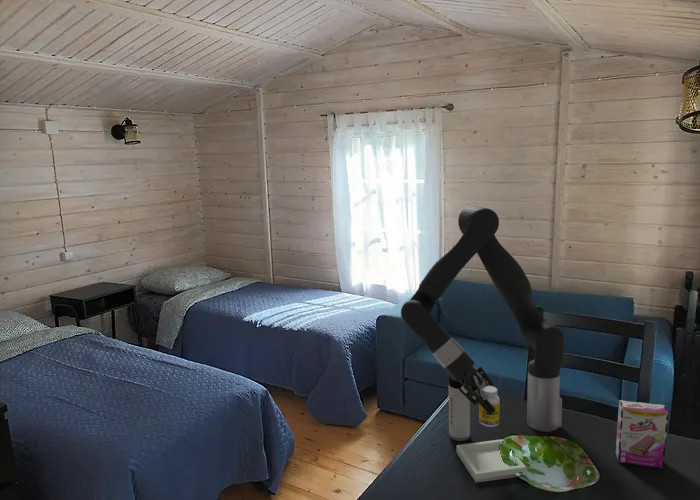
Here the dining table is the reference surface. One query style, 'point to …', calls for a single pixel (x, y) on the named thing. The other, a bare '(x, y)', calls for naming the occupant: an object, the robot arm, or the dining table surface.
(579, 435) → the dining table surface
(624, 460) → the candy bar box
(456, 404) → the travel mug
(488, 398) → the supplement bottle
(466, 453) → the tray
